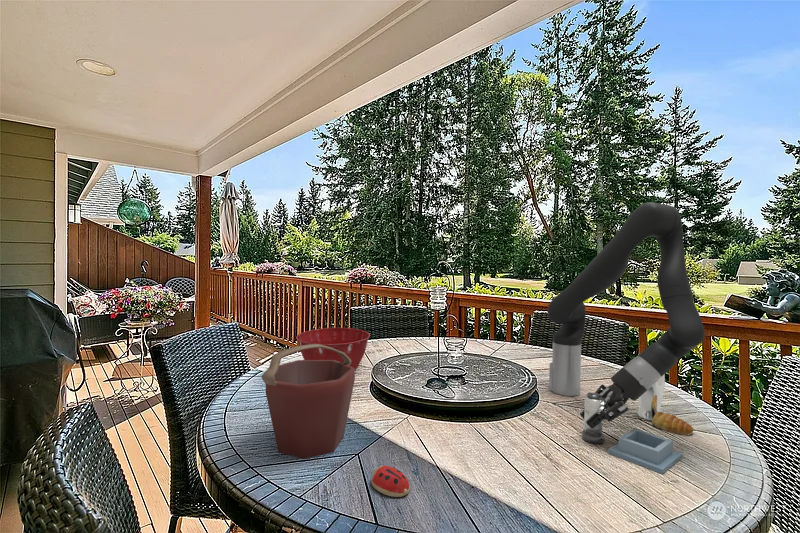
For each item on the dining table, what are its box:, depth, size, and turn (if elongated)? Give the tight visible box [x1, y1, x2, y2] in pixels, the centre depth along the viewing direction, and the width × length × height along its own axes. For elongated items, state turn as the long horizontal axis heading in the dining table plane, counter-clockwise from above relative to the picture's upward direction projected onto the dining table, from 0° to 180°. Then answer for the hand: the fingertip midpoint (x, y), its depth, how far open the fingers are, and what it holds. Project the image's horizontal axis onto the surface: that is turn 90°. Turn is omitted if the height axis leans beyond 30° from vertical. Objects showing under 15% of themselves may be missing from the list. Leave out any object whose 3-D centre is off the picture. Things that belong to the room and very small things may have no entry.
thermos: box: [581, 392, 605, 445], centre depth 111 cm, size 5×5×12 cm
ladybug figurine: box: [370, 465, 411, 498], centre depth 89 cm, size 7×10×4 cm
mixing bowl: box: [295, 327, 371, 371], centre depth 167 cm, size 28×28×16 cm
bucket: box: [261, 344, 356, 460], centre depth 109 cm, size 24×22×25 cm
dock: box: [607, 428, 684, 475], centre depth 103 cm, size 12×12×4 cm
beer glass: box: [637, 373, 666, 422], centre depth 126 cm, size 7×7×15 cm
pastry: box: [651, 411, 695, 436], centre depth 118 cm, size 9×7×4 cm
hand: (585, 421), depth 111 cm, fingers closed on thermos, 4 cm apart
